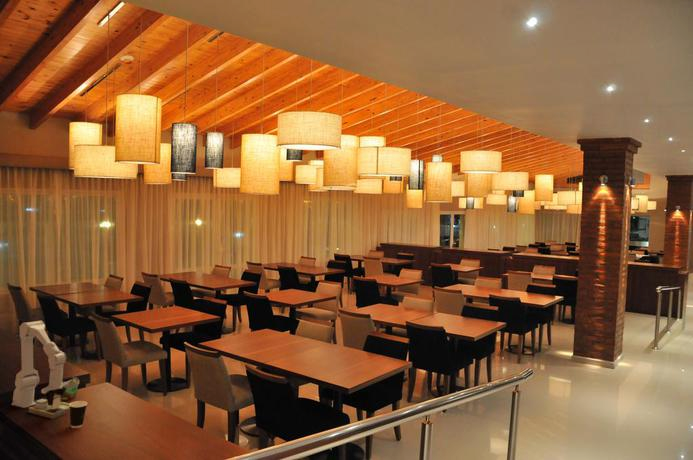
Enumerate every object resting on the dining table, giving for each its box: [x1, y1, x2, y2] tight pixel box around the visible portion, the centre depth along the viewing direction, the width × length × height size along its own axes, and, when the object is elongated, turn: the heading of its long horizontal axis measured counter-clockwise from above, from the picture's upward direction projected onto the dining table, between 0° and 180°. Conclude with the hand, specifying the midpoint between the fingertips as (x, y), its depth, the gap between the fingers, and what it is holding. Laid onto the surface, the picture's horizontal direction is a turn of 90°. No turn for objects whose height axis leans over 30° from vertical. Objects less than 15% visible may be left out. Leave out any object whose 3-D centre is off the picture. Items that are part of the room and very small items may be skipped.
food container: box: [61, 376, 80, 401], centre depth 288 cm, size 12×6×10 cm, turn 179°
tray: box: [59, 400, 70, 411], centre depth 273 cm, size 12×10×1 cm
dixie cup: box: [69, 400, 88, 429], centre depth 253 cm, size 8×8×11 cm
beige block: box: [34, 398, 48, 410], centre depth 266 cm, size 4×4×6 cm
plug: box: [47, 393, 61, 409], centre depth 263 cm, size 4×4×6 cm
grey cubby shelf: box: [28, 405, 67, 420], centre depth 265 cm, size 16×8×3 cm, turn 71°
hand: (54, 403), depth 263 cm, fingers closed on plug, 4 cm apart
